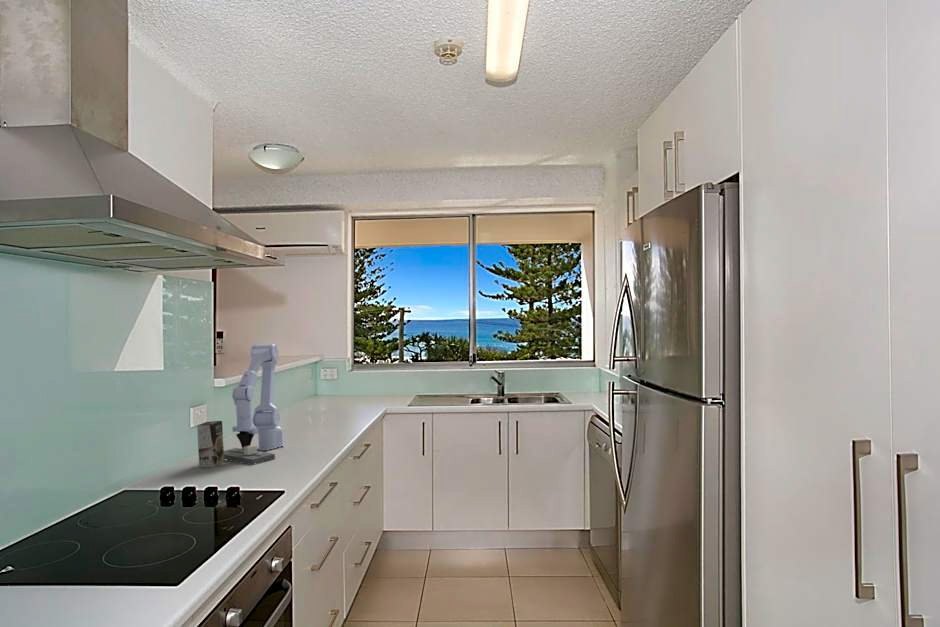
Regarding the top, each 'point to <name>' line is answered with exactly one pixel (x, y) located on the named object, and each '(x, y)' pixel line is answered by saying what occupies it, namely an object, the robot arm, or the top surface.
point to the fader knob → (250, 449)
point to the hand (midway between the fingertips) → (246, 450)
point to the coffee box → (210, 444)
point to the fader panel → (247, 456)
